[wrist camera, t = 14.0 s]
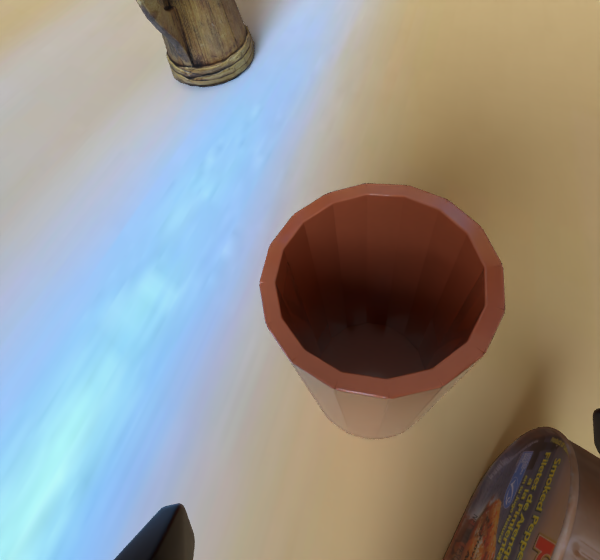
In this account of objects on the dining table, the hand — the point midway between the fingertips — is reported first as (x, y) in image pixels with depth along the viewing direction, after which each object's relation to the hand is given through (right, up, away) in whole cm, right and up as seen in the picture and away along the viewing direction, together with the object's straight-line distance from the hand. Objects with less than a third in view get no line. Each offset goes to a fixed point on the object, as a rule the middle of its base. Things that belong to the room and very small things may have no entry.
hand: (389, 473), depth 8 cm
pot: (+2, -1, +14) cm, 14 cm away
